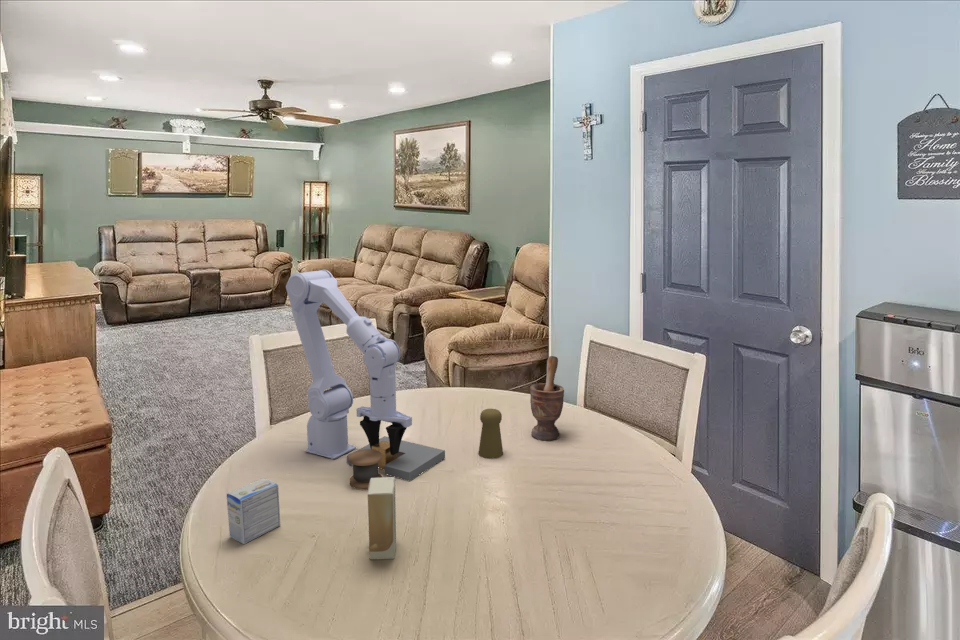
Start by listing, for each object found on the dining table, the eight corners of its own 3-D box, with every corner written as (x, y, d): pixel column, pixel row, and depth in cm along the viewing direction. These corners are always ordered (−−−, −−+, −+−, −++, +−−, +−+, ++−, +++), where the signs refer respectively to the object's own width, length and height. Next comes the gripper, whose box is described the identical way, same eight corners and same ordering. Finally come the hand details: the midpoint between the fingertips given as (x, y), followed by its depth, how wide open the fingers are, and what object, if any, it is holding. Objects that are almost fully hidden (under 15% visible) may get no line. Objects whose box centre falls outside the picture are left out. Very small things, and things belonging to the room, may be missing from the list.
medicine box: (266, 519, 114) (263, 476, 113) (281, 526, 112) (278, 482, 110) (229, 537, 108) (225, 492, 106) (244, 545, 106) (240, 499, 104)
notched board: (346, 463, 139) (346, 455, 139) (385, 443, 151) (384, 436, 151) (409, 481, 131) (409, 472, 130) (444, 458, 143) (444, 450, 142)
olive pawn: (501, 459, 142) (501, 415, 140) (475, 457, 143) (476, 413, 141) (505, 449, 148) (505, 407, 146) (480, 447, 149) (481, 405, 147)
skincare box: (372, 540, 107) (370, 476, 105) (396, 539, 108) (395, 475, 105) (368, 561, 101) (366, 493, 99) (394, 560, 101) (393, 492, 99)
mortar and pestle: (526, 425, 164) (528, 354, 161) (558, 425, 165) (560, 354, 161) (531, 441, 153) (532, 365, 149) (565, 441, 153) (567, 365, 150)
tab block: (372, 466, 138) (371, 446, 137) (383, 460, 141) (382, 440, 141) (385, 470, 136) (385, 449, 135) (396, 464, 139) (396, 443, 139)
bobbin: (342, 484, 129) (341, 458, 128) (364, 472, 135) (363, 446, 134) (368, 491, 126) (367, 464, 124) (389, 479, 132) (388, 453, 130)
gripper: (346, 393, 136) (348, 450, 138) (397, 404, 129) (399, 463, 131) (367, 385, 142) (368, 440, 144) (417, 395, 135) (418, 452, 137)
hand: (384, 450), depth 138 cm, fingers open, 5 cm apart
